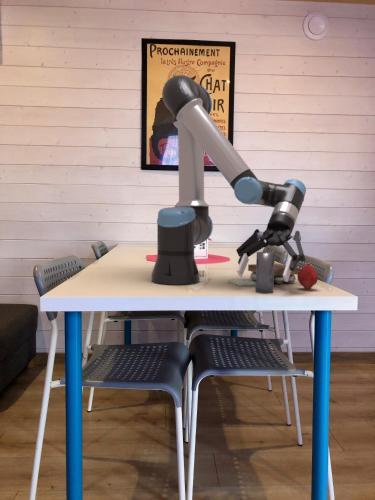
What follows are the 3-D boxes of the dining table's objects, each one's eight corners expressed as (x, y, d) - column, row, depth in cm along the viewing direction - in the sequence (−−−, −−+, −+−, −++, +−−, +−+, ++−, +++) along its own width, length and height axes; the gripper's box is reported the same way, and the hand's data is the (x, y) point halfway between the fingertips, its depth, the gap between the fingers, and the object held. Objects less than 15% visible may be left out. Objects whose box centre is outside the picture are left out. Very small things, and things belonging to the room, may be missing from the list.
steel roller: (261, 293, 125) (263, 254, 124) (251, 290, 130) (253, 252, 129) (276, 292, 127) (278, 253, 126) (266, 289, 132) (268, 251, 131)
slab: (268, 275, 138) (268, 269, 138) (248, 270, 149) (248, 264, 149) (298, 274, 142) (298, 267, 142) (276, 269, 153) (276, 263, 153)
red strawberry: (292, 288, 134) (293, 261, 133) (307, 287, 137) (308, 260, 136) (307, 292, 129) (308, 264, 128) (321, 290, 132) (322, 263, 131)
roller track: (265, 285, 140) (265, 275, 140) (250, 280, 148) (250, 271, 148) (295, 283, 144) (295, 273, 144) (278, 279, 152) (279, 270, 152)
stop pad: (239, 286, 137) (239, 284, 137) (228, 282, 144) (228, 280, 144) (259, 284, 140) (259, 283, 140) (247, 281, 147) (247, 279, 146)
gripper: (326, 231, 133) (308, 289, 122) (247, 228, 147) (225, 280, 135) (322, 212, 128) (303, 271, 117) (241, 211, 142) (217, 264, 130)
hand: (261, 276), depth 126 cm, fingers open, 13 cm apart
